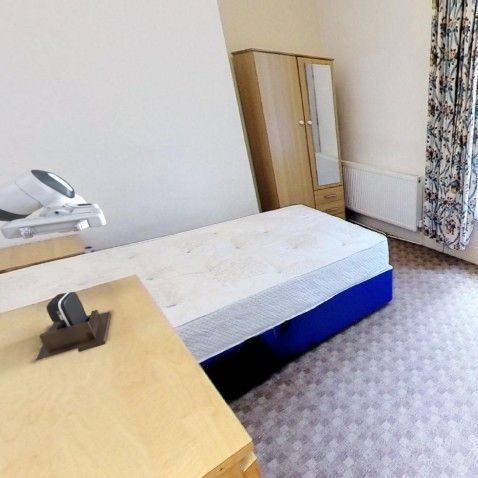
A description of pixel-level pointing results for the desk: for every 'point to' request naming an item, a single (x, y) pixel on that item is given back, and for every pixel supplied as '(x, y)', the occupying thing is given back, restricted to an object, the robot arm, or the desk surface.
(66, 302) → the battery charger
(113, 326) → the desk surface
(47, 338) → the dock
